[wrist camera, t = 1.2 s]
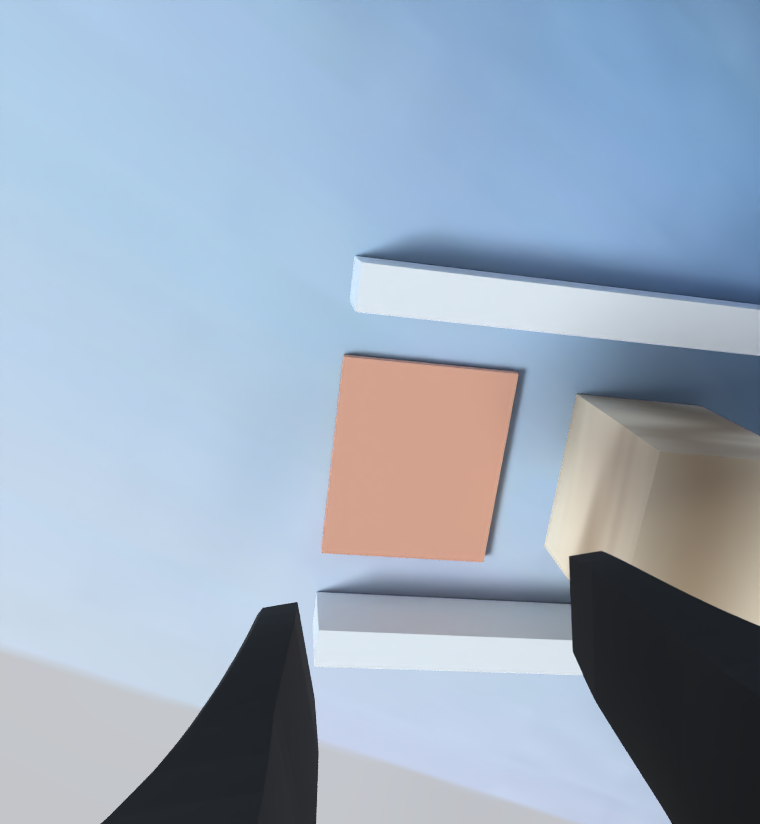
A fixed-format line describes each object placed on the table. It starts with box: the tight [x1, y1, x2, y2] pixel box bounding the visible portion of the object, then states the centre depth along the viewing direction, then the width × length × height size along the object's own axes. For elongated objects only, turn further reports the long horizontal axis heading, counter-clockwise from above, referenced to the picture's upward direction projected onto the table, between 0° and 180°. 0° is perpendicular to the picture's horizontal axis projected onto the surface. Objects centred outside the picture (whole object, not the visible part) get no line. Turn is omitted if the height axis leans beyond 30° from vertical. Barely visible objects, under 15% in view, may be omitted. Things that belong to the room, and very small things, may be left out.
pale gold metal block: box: [544, 394, 760, 626], centre depth 19 cm, size 4×5×5 cm
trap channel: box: [313, 256, 760, 675], centre depth 20 cm, size 16×11×2 cm
